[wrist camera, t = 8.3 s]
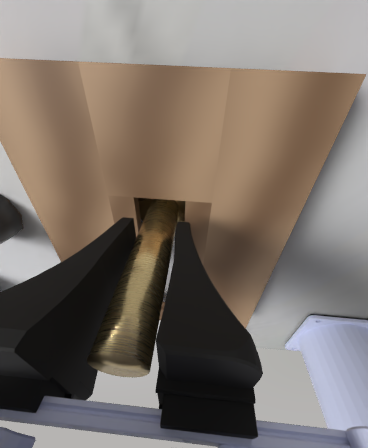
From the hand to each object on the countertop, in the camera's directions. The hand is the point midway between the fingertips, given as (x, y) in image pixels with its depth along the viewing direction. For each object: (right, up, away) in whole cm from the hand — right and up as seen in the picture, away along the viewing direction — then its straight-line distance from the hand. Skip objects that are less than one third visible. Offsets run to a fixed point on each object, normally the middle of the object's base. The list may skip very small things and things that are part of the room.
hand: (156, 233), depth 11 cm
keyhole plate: (0, 0, +4) cm, 4 cm away
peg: (0, +2, +3) cm, 4 cm away
